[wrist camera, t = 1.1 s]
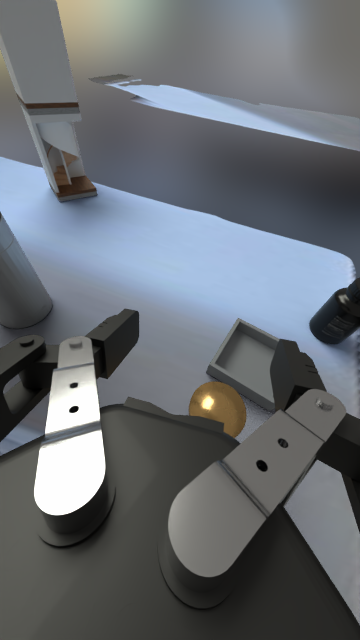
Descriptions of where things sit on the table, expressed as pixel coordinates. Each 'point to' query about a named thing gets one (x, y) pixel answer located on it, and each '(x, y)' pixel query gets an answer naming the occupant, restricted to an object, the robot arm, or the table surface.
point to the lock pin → (219, 406)
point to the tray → (246, 363)
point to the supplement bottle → (338, 315)
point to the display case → (45, 90)
